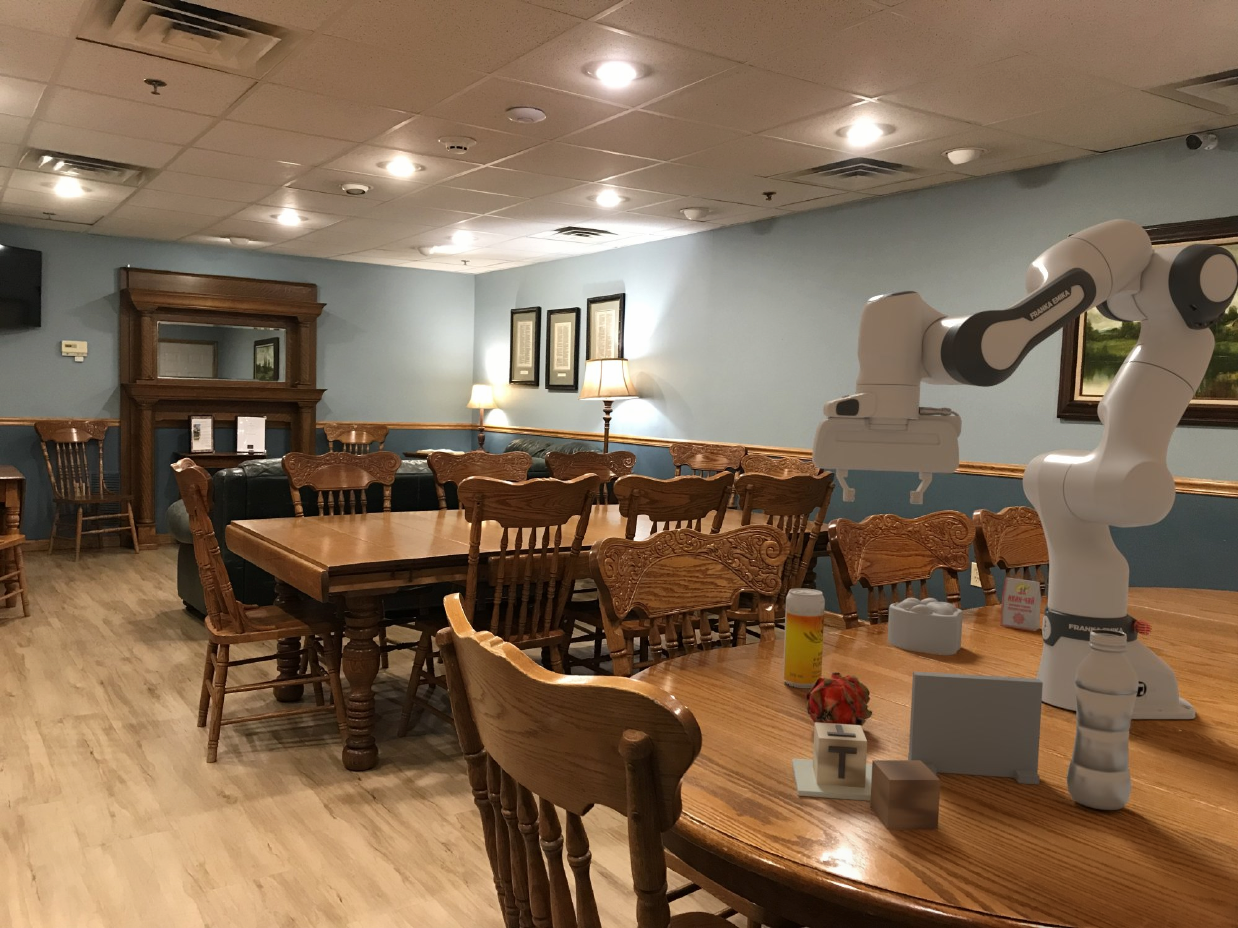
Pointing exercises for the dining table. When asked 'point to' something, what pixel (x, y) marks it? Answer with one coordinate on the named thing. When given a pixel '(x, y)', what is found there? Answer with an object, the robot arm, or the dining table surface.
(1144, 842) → the dining table surface
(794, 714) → the dining table surface
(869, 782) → the coaster
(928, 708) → the grey board
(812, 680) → the beer can
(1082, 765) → the plastic bottle
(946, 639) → the lumpy-topped squat cylinder
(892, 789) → the plain cube
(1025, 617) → the tea bag
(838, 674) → the dragon fruit
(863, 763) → the lettered cube
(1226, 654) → the dining table surface
